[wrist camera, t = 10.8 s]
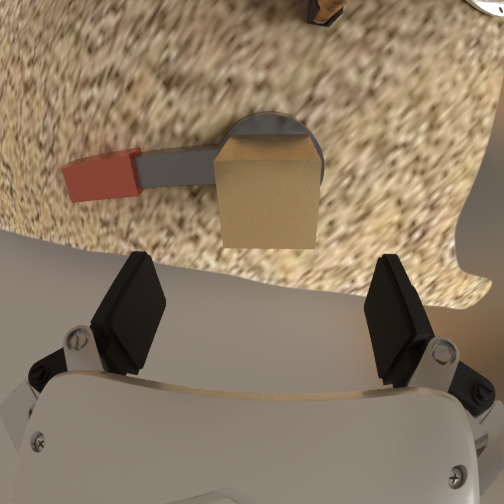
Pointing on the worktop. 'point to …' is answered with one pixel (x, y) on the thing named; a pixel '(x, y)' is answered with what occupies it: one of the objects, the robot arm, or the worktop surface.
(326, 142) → the worktop surface
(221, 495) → the robot arm
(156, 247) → the worktop surface
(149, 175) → the ratchet
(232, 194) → the wooden block
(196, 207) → the worktop surface
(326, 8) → the ammunition clip
